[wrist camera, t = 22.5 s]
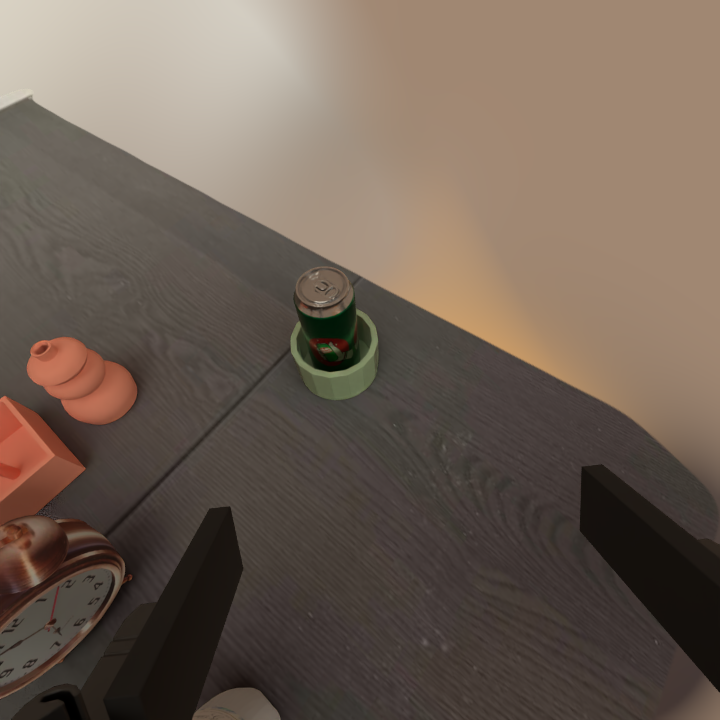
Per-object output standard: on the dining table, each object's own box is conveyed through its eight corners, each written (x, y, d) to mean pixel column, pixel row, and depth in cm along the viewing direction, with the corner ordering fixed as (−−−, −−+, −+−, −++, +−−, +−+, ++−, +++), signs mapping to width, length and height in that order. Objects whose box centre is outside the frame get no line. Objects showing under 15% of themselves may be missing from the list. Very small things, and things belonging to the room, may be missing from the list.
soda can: (334, 334, 44) (319, 253, 34) (370, 358, 42) (366, 280, 32) (303, 366, 42) (277, 290, 32) (339, 392, 40) (324, 321, 30)
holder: (353, 321, 46) (350, 292, 41) (393, 376, 42) (394, 350, 37) (287, 354, 44) (276, 327, 40) (322, 414, 40) (314, 392, 36)
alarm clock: (48, 695, 29) (-211, 770, 17) (12, 650, 31) (-251, 687, 18) (160, 558, 34) (23, 534, 21) (123, 525, 35) (-25, 483, 23)
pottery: (-6, 550, 35) (-130, 535, 26) (-51, 482, 38) (-173, 449, 30) (161, 401, 42) (105, 351, 33) (111, 355, 45) (48, 298, 37)
